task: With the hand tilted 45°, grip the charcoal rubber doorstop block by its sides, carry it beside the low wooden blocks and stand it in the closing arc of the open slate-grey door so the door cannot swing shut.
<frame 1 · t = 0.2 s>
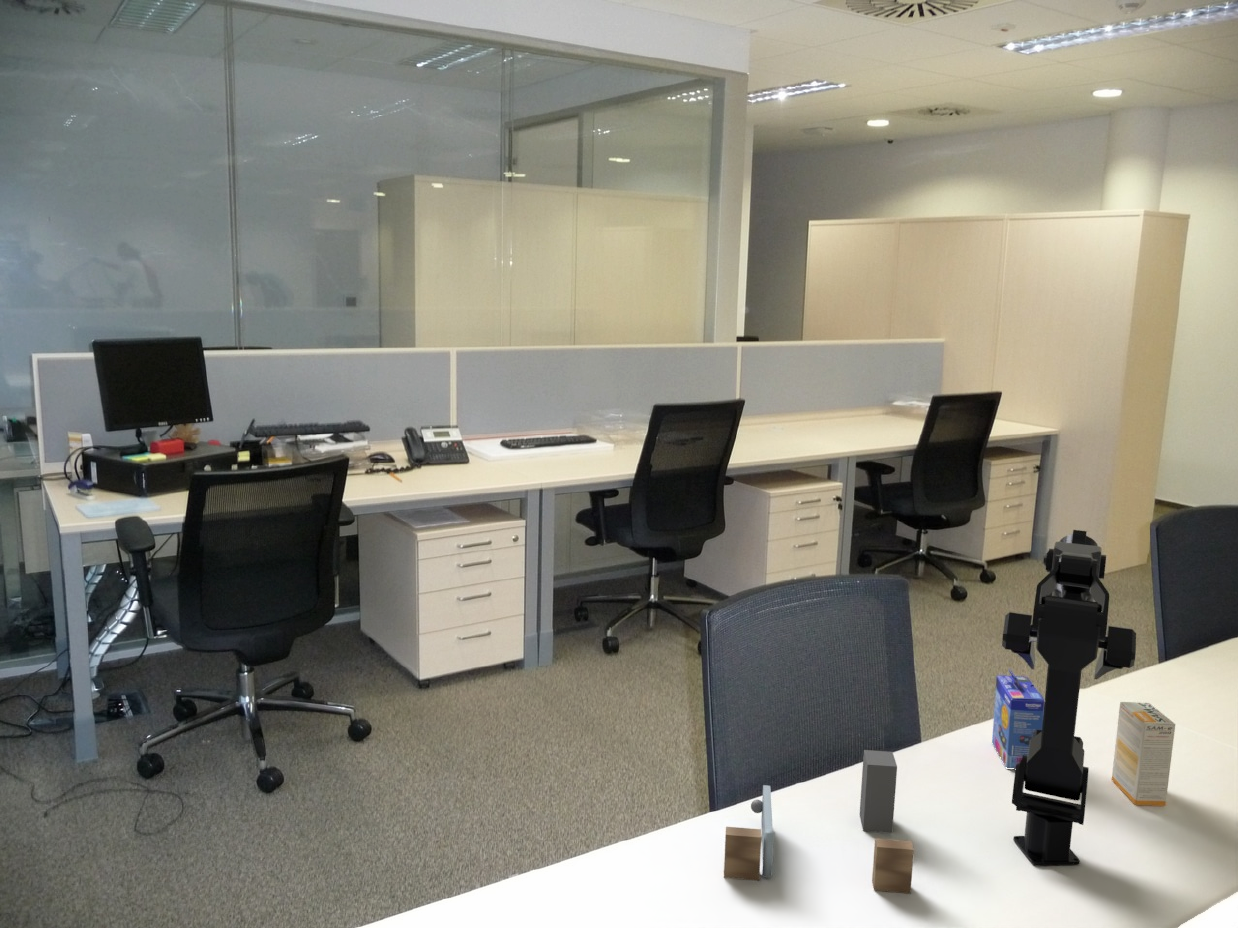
hand: (1064, 671, 166), 15 cm above the table, tool tilted 30°, fingers open, 9 cm apart
ink cartridge box: (1013, 758, 169), on the table
supplement box: (1137, 794, 158), on the table
door: (761, 827, 139), point 3 cm above the table, hinge at 90.0°
rubber doorstop: (875, 823, 147), on the table
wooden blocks: (818, 880, 133), on the table
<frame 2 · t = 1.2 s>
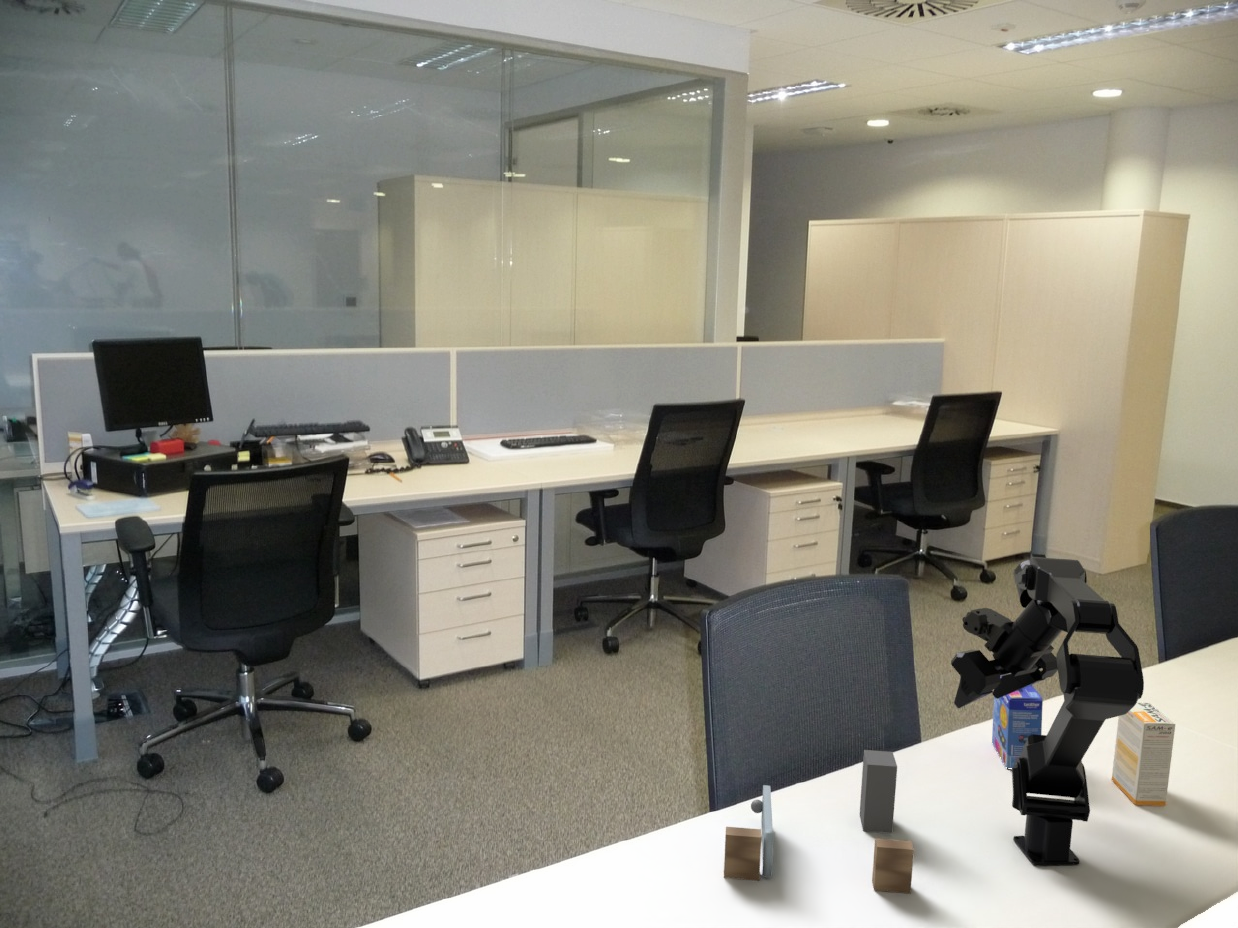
hand: (976, 700, 157), 13 cm above the table, tool tilted 30°, fingers open, 9 cm apart
nothing on the table moved.
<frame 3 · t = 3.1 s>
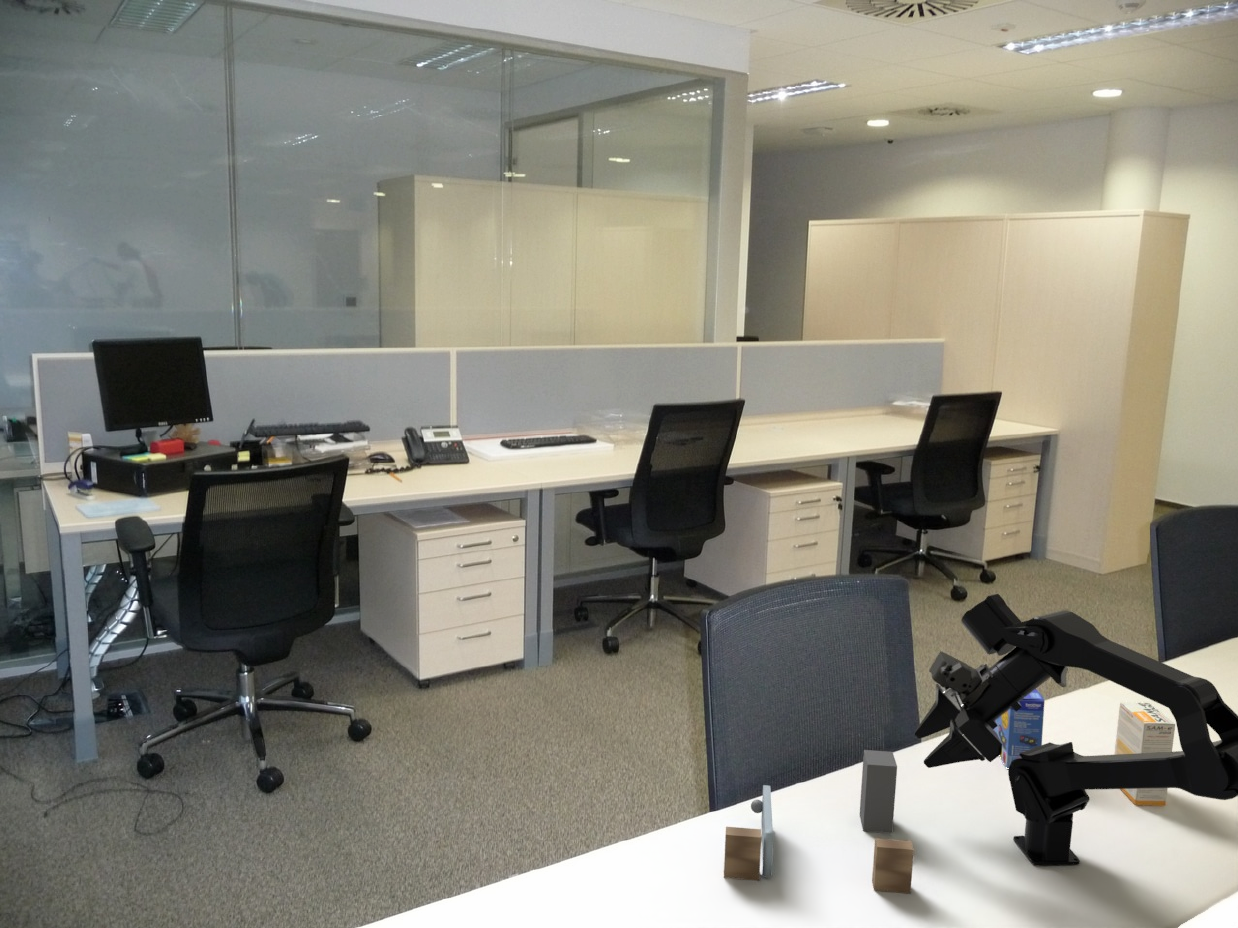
hand: (920, 749, 145), 11 cm above the table, tool tilted 45°, fingers open, 9 cm apart
nothing on the table moved.
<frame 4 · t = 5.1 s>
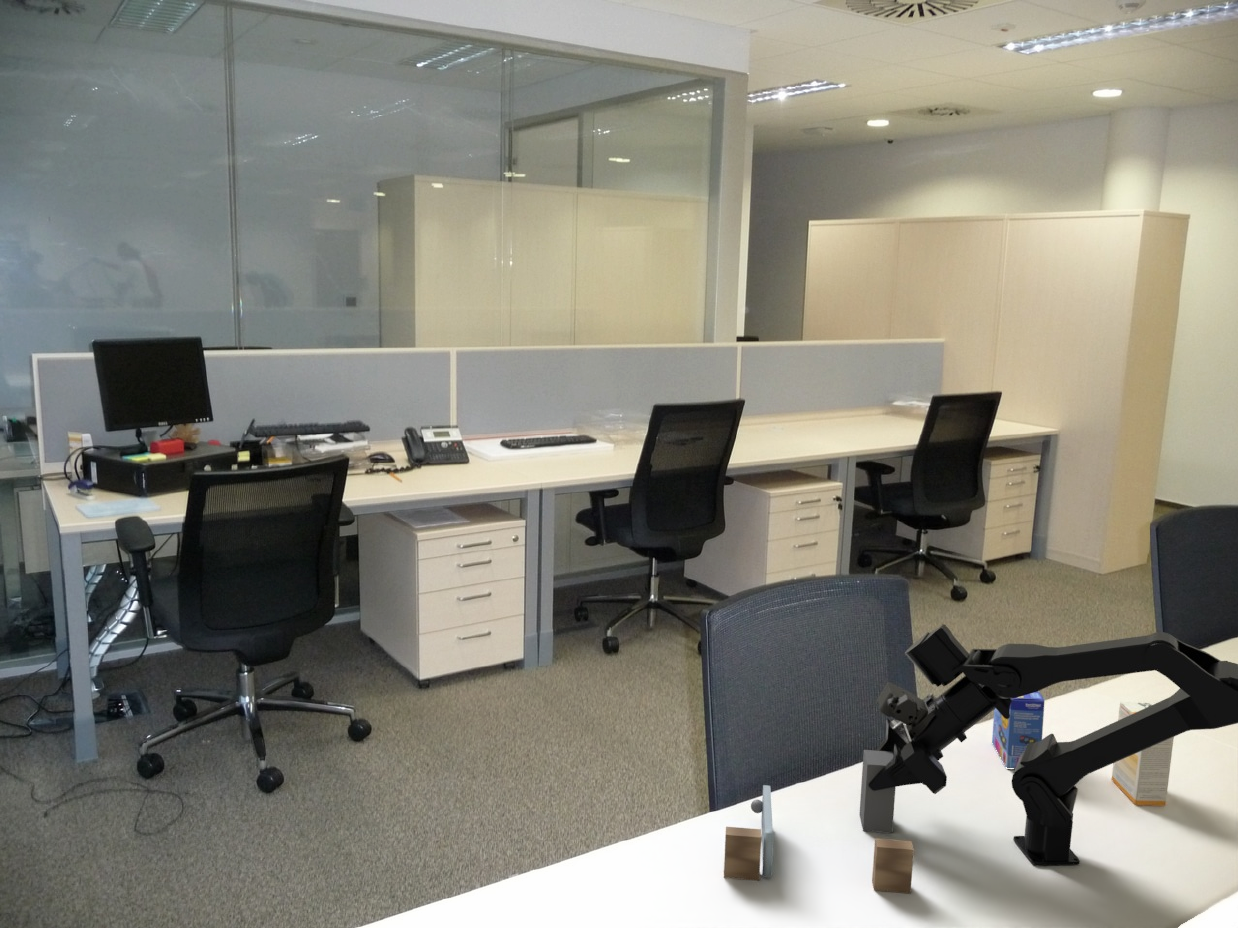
hand: (868, 779, 146), 7 cm above the table, tool tilted 45°, fingers closed on rubber doorstop, 4 cm apart
rubber doorstop: (875, 823, 147), on the table, touching gripper
everything else where it was.
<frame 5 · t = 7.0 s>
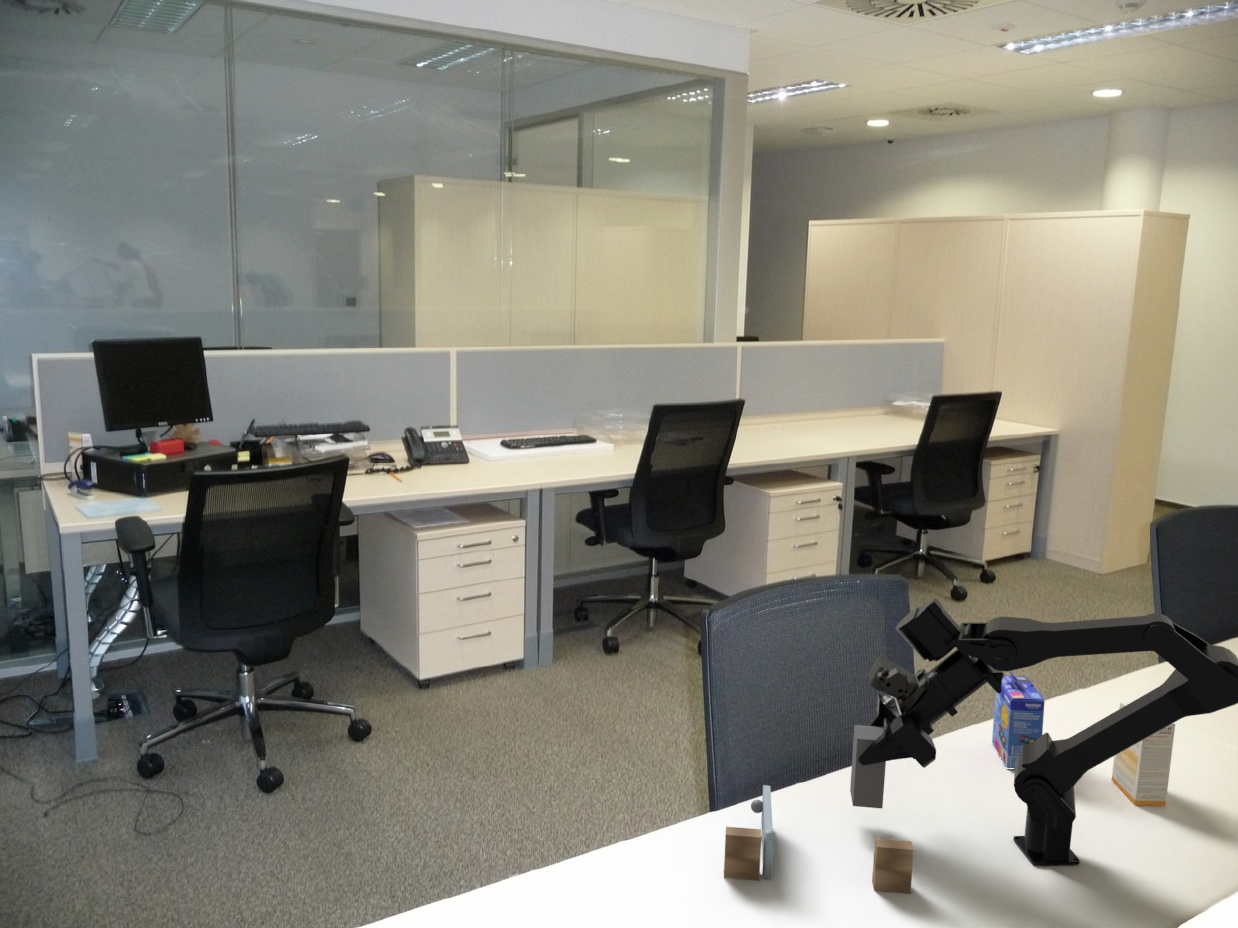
hand: (858, 754, 145), 11 cm above the table, tool tilted 45°, fingers closed on rubber doorstop, 4 cm apart
rubber doorstop: (866, 799, 146), point 4 cm above the table, touching gripper
everything else where it was.
when the fingers open (8 cm above the table, at t = 8.8 s): rubber doorstop drops 1 cm, on the table.
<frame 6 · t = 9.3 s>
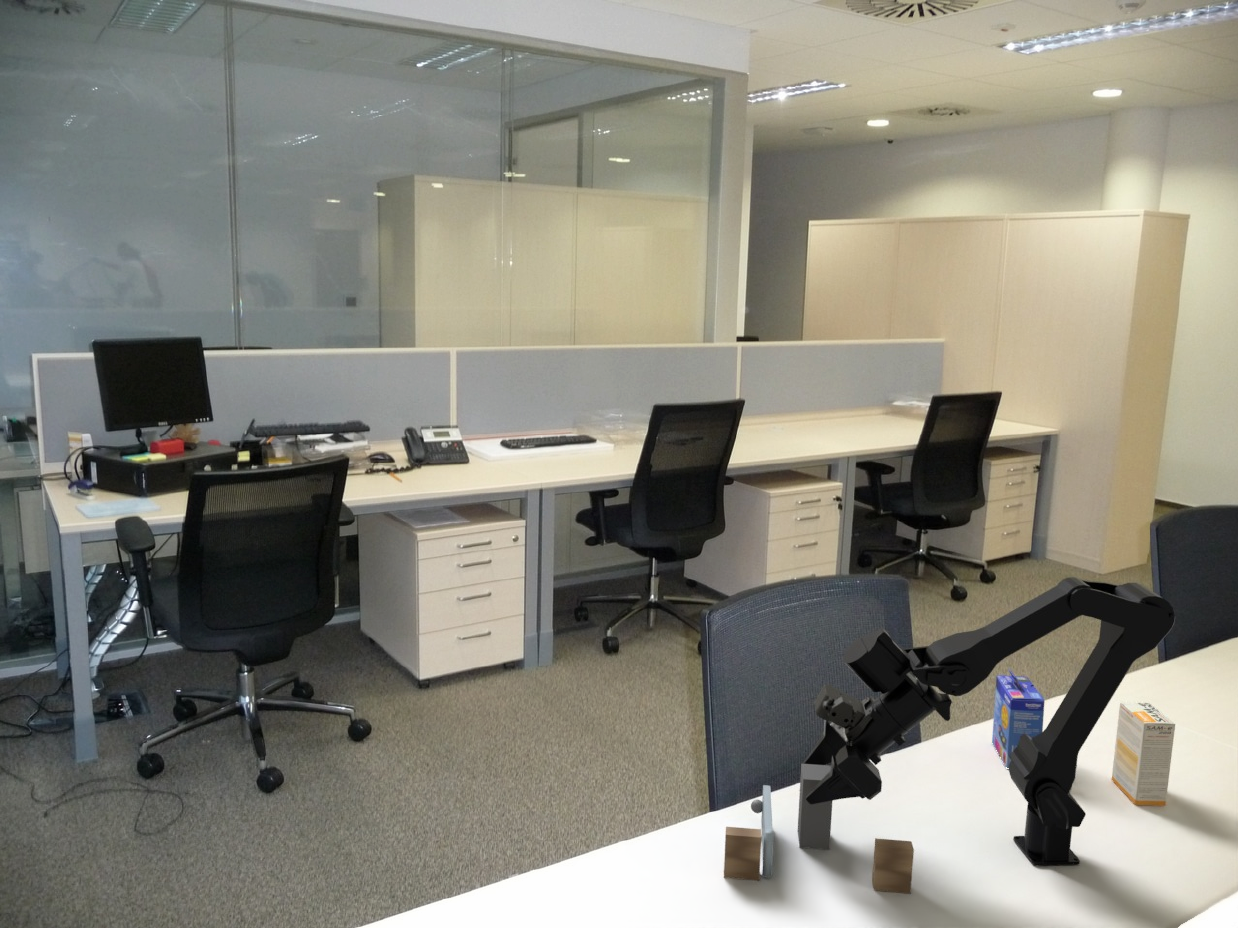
hand: (805, 784, 141), 8 cm above the table, tool tilted 45°, fingers open, 9 cm apart
rubber doorstop: (813, 839, 143), on the table
everything else where it was.
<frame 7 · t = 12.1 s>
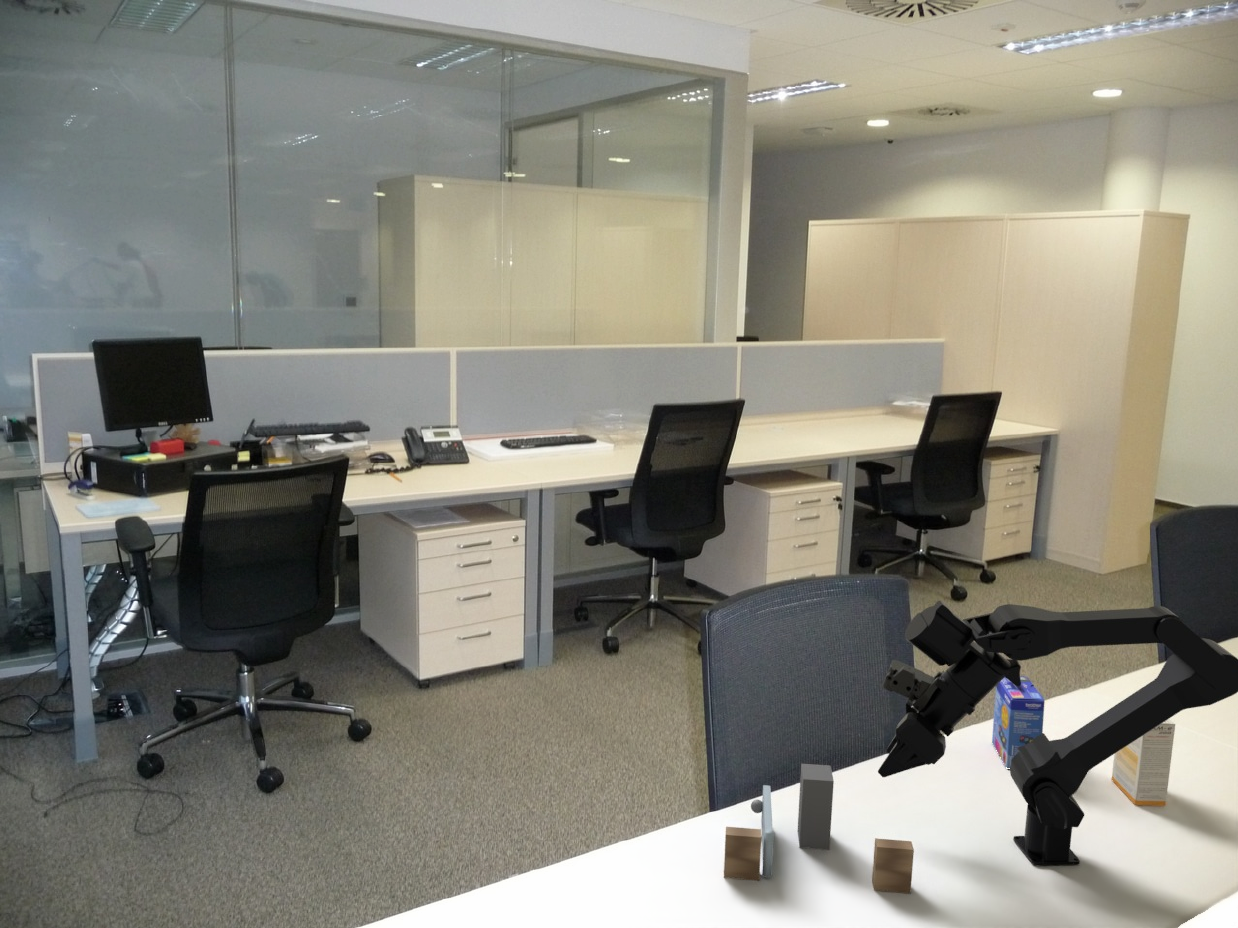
hand: (884, 763, 142), 11 cm above the table, tool tilted 35°, fingers open, 9 cm apart
nothing on the table moved.
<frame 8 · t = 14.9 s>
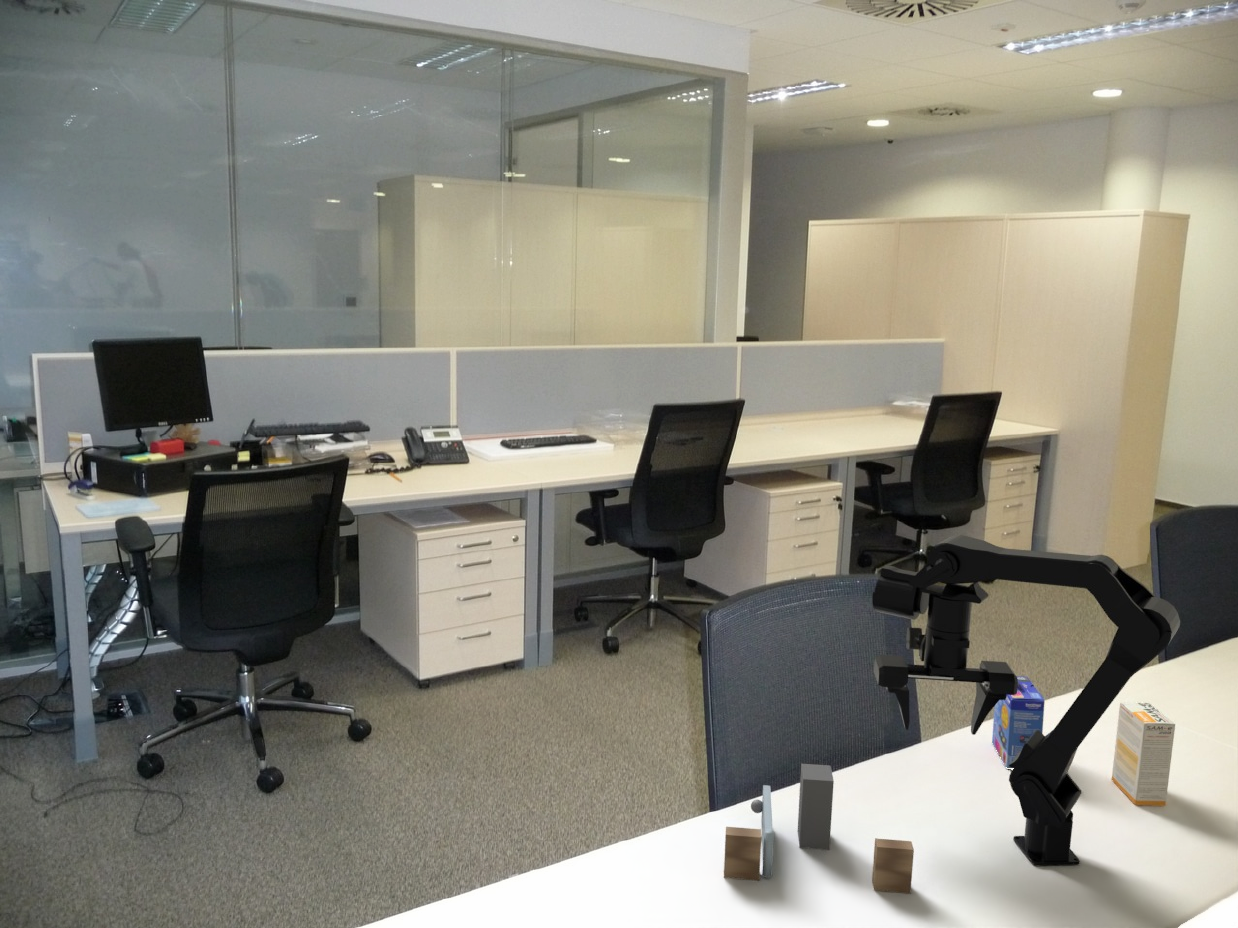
hand: (939, 731, 147), 13 cm above the table, tool pointing down, fingers open, 9 cm apart
nothing on the table moved.
at the end: rubber doorstop 0.0 cm from the target spot, on the table; rubber doorstop tilted 0°; door at +90° (first picture: +90°) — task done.
